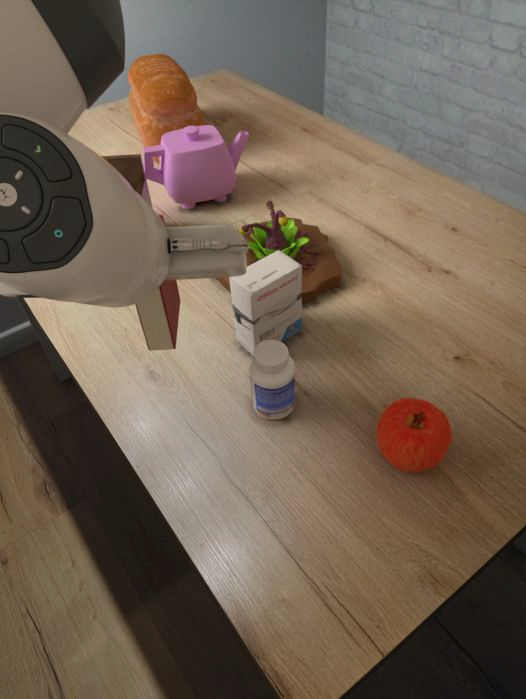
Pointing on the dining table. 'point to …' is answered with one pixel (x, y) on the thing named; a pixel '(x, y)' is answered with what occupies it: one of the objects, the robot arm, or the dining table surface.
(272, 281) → the ink box
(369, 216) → the dining table surface
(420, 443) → the apple
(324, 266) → the plant
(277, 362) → the pill bottle
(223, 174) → the teapot
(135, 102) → the bread
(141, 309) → the book
